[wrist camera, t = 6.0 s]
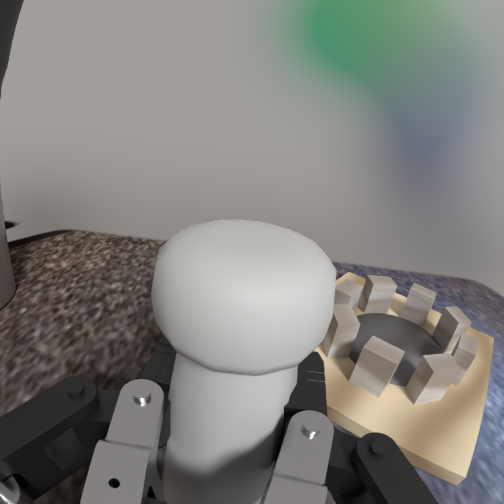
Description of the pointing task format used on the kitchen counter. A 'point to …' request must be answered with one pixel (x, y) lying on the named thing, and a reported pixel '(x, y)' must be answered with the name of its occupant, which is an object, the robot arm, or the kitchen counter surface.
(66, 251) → the kitchen counter surface
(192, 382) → the salt shaker
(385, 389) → the stonehenge model
